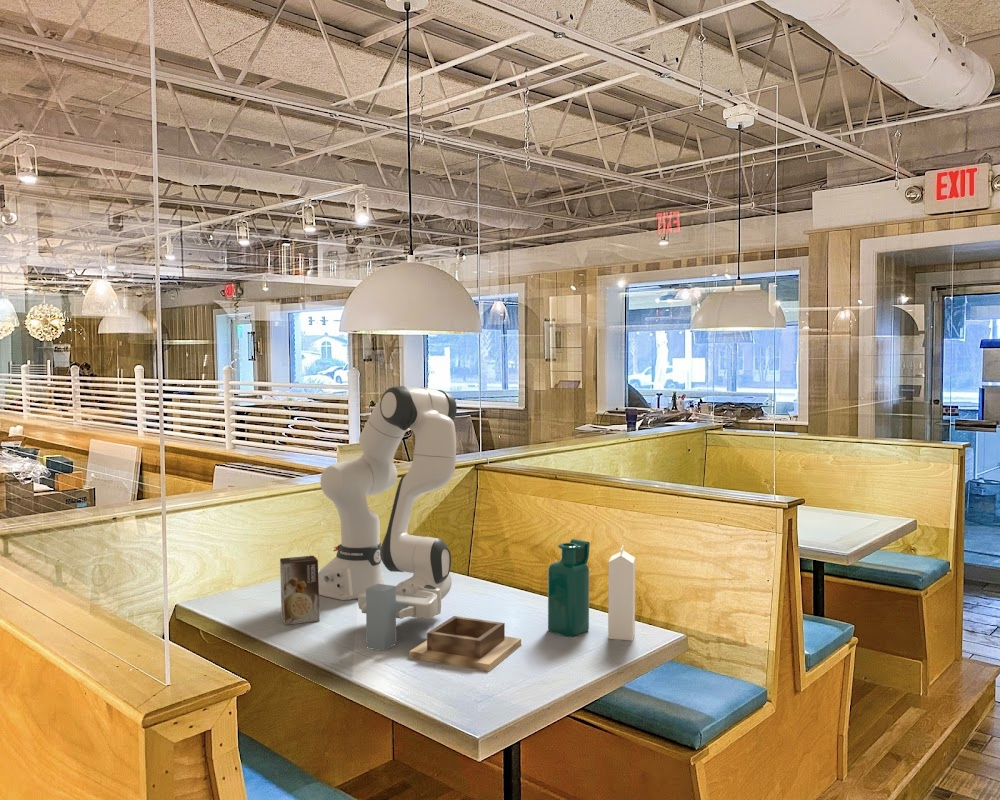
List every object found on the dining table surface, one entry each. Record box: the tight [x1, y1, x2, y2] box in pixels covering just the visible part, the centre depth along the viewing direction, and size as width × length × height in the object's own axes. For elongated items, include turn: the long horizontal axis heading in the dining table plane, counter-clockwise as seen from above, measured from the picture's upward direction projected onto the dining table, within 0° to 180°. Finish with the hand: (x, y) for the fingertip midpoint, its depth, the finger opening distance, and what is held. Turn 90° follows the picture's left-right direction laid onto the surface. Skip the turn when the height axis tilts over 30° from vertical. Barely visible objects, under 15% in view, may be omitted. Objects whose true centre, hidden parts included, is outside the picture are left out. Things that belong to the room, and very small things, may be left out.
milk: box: [607, 545, 636, 641], centre depth 197 cm, size 6×6×22 cm
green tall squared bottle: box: [547, 538, 591, 638], centre depth 201 cm, size 10×8×22 cm
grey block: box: [365, 583, 397, 652], centre depth 190 cm, size 5×5×14 cm
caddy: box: [408, 615, 522, 672], centre depth 187 cm, size 20×18×6 cm
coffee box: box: [279, 555, 321, 626], centre depth 210 cm, size 9×6×16 cm
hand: (380, 612), depth 190 cm, fingers open, 8 cm apart
